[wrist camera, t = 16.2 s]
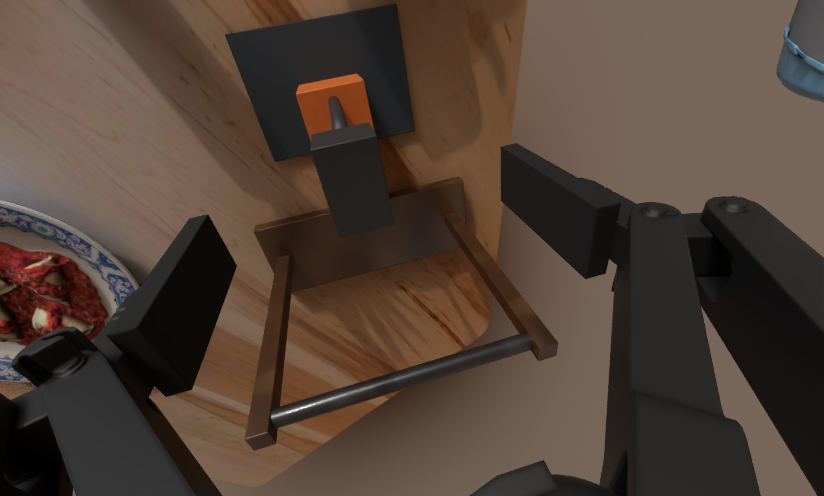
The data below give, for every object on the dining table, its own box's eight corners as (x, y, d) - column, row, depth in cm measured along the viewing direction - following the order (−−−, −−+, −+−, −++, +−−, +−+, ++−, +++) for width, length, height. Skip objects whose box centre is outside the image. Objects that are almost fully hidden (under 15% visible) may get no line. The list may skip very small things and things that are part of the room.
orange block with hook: (357, 73, 34) (403, 118, 16) (370, 132, 38) (420, 226, 19) (298, 85, 34) (275, 145, 15) (317, 144, 37) (316, 252, 19)
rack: (458, 176, 44) (580, 297, 24) (463, 240, 49) (565, 383, 29) (255, 225, 41) (195, 411, 21) (285, 287, 46) (260, 482, 26)
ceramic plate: (148, 210, 37) (136, 223, 35) (157, 370, 49) (149, 388, 46) (-223, 154, 28) (-275, 166, 26) (-104, 366, 40) (-131, 388, 37)
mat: (395, 4, 33) (396, 3, 32) (413, 130, 39) (414, 130, 39) (225, 34, 31) (224, 34, 30) (275, 160, 37) (274, 161, 37)
